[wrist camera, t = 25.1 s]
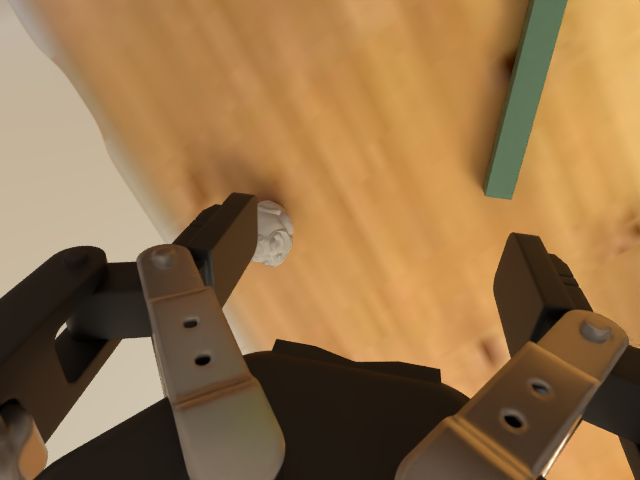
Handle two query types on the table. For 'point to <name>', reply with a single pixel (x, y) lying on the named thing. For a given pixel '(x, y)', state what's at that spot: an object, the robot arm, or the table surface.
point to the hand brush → (523, 95)
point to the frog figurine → (273, 234)
